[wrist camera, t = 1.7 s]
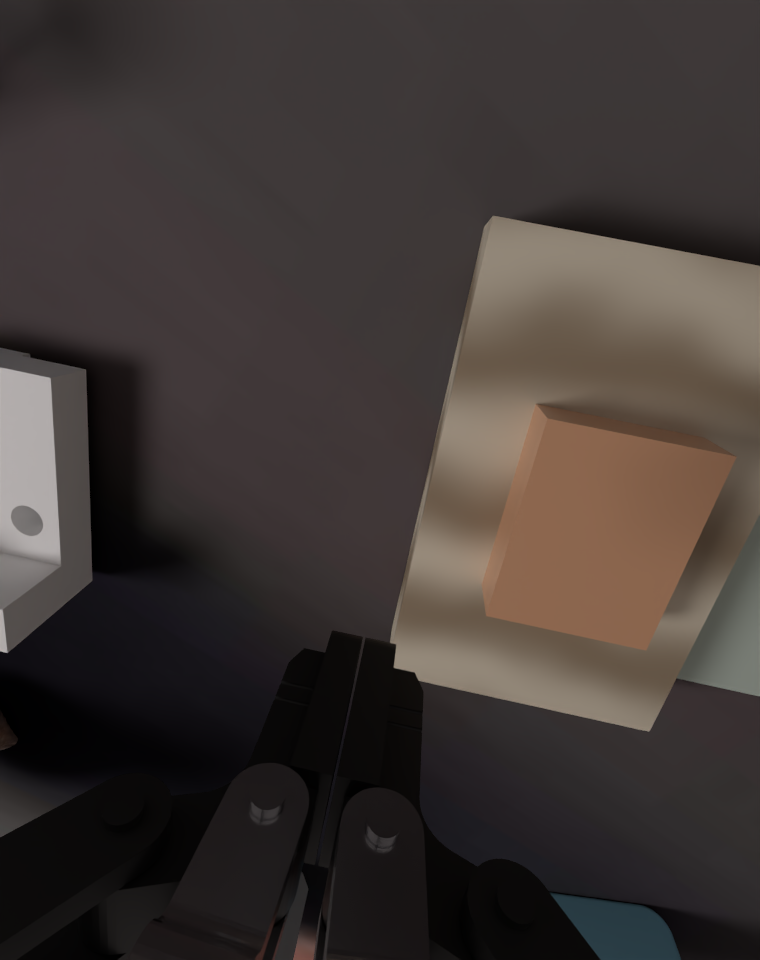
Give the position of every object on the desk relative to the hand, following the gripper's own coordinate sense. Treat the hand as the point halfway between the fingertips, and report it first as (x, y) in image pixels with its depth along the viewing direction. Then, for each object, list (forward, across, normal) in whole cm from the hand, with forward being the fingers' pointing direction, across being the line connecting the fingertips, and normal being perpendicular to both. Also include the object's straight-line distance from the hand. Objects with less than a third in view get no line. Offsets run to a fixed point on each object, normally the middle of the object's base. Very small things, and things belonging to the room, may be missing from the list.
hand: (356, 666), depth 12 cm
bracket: (+17, +20, +5) cm, 27 cm away
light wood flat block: (+16, -8, 0) cm, 18 cm away
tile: (+11, -8, 0) cm, 14 cm away
